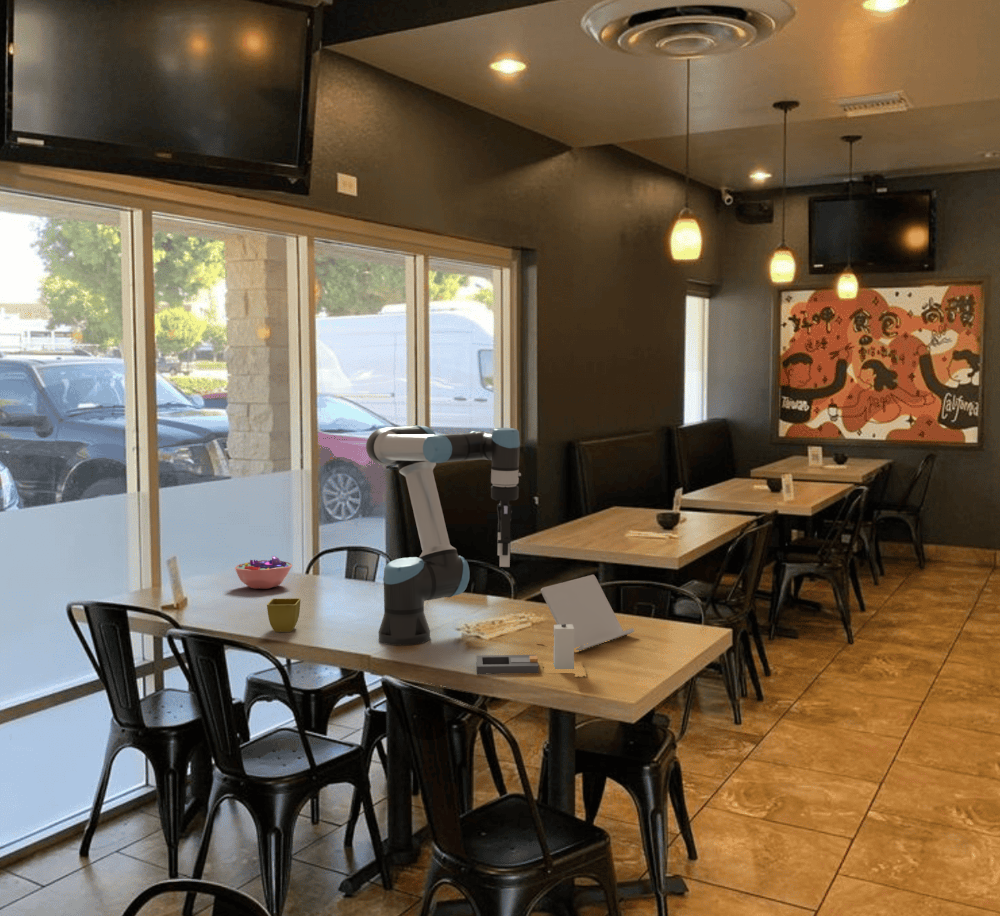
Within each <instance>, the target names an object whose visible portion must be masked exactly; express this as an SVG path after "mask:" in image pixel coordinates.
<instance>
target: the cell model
mask: <svg viewBox="0 0 1000 916" xmlns="http://www.w3.org/2000/svg"><path fill="white" fill-rule="evenodd" d="M292 567H293V564H292V563H291V562H288V561H284V560H280V558H279V557H277V556H275V555H271V559H270V560H265V559H263V560H258V559H250V560H249V562H245V563H240V564H237V565H235V567H234V569H235V572H236V574H237V577H238V579H239V580H240V581H241V582H242V584H244V585H246V586H247V587H249V588H250V589H256V590H257V589H258V590H259V589H261V590H268V589H271V588H276V587H279V586H281V584H283V583H284V581H285V579H286V577H287V576H288V574H289V573H290V570H291V569H292Z"/></svg>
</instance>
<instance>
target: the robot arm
mask: <svg viewBox="0 0 1000 916" xmlns="http://www.w3.org/2000/svg"><path fill="white" fill-rule="evenodd" d="M520 441H521V440H520V431H519V429H516V428H513V427H495V428H493V429H492V432H486V431H484V430H472V431H470V432H468V433H467V432H465V433H447V434H436V432H435V431H434V430H433V429H431V428H430V427H428V426H426V425H409V426H393V427H391V426H389V427H388V426H387V427H382V428H379V429H376V430H374V431H373V432H371V434H370V435H369V437H368V438H367V441H366V444H365V448H366V449H365V451H366V453H367V455H368V457H369V458H370V460H372V461H373V462H374V463H376V464H378V465H382V466H397V468H398V472H399V474H400V475H402V476H404V478H405V481H406V485H407V489H408V493H409V494H408V495H409V499H410V503H411V507H412V510H413V511H412V512H413V516H414V520H415V524H416V528H417V534H418V538H419V541H420V547H421V550H422V552H421V554H420V555H419V557H417V556H409V557H402V558H401V557H400V558H396V559H394V560H391V561H389V562H388V563H386V565H385V567H384V570H383V577H382V581H383V604H384V605H383V606H384V608H383V610H384V611H383V612H384V613H383V617H382V620H381V623H380V626H379V630H378V640H379V642H381V643H383V644H386V645H392V646H413V645H421V644H423V643H426V642H428V641H429V640H430V639H431V630H430V627H429V624H428V621H427V617H426V614H425V605H424V604H425V602H426V601H432V600H437V599H442V598H444V599H445V598H452V597H453V596H454V597H455V596H459V595H461V594H462V593H464V592H465V590H466V589H467V587H468V584H469V581H470V567H469V563H468V561H467V559H465V557H463V556H461V555H459V554H458V550H457V548H456V547H454V546H452V545H451V543H450V538H449V534H448V531H447V527H446V522H445V518H444V513H443V508H442V505H441V500H440V496H439V492H438V488H437V483H436V480H435V475H434V469H435V467H436V466H437V464H443V463H450V462H451V463H452V462H463V461H475V460H477V461H478V460H486V461H491V469H490V471H491V473H490V484H492V485H491V486H490V498H491V499H492V500H495V501H498V504H497V505H496V511H497V518H498V519H497V522H498V523H497V554H496V555H497V556H499V568H501V567H502V568H510V564H511V563H510V562H511V561H510V560H511V541H512V540H511V522H512V513H513V507H512V504H510V501H516V500H518V499H519V489H520V488H519V486H518V484H519V480H520V479H519V477H522V473H521V472H520V471H519V470H520V467H519V466H520V449H521V446H520V445H521V442H520Z"/></svg>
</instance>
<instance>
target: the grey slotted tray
mask: <svg viewBox="0 0 1000 916" xmlns="http://www.w3.org/2000/svg"><path fill="white" fill-rule="evenodd" d="M538 659H539V658H538V655H536V654H500V655H499V654H495V655H493V654H490V655H489V654H488V655H487V654H486V655H485V654H484V655H483V654H482V655H481V654H479V655H476V675H487V674H486V673H539V670H540V669H539V661H538Z"/></svg>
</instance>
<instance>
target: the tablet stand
mask: <svg viewBox="0 0 1000 916" xmlns="http://www.w3.org/2000/svg"><path fill="white" fill-rule="evenodd" d="M540 592H541V595H542V597H543V599H544V601H545V603H546V605H547V607H548V609H549V611H550V613H551V615H552V617H553V619H554V621H555V623H556V625H561V624H572V625H573V627H574V648H576V647H579V646H580V647H579V648H577V649H576V650H579V651H580V650H583V649H586V648H589V647H592V646H595V645H598V644H601V643H603V642H605V641H608V640H612V641H614V640H613V639H615V640H617V639H616V638H618V637H621V636H624V635H627V634H629V635H630V634H632V633H633V632H635V629H634V628H633V627H632V628H629V629H626V630H623V628H622V626H621V624H620V622H619V620H618V618H617V616H616V613H615V612H614V610H613V609H612V606H611V604H610V602H609V601H608V599H607V597H606V594H605V592H604V591H603V588H602V586H601V585H600V583H599V580H598V579H597V577H596V576H595V574H590V575H589V574H588V575H587V576H582V577H578V578H575V579H571V580H567V581H564V582H559V583H555V584H552V585H548V586H544V587H542V588H541V589H540ZM627 636H628V635H627ZM624 637H625V636H624ZM621 638H622V637H621ZM618 639H619V638H618ZM587 643H588V644H587ZM584 644H585V645H584ZM601 645H602V644H601ZM598 646H599V645H598ZM595 647H596V646H595ZM592 648H593V647H592ZM589 649H590V648H589ZM586 650H587V649H586ZM583 651H584V650H583Z"/></svg>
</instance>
